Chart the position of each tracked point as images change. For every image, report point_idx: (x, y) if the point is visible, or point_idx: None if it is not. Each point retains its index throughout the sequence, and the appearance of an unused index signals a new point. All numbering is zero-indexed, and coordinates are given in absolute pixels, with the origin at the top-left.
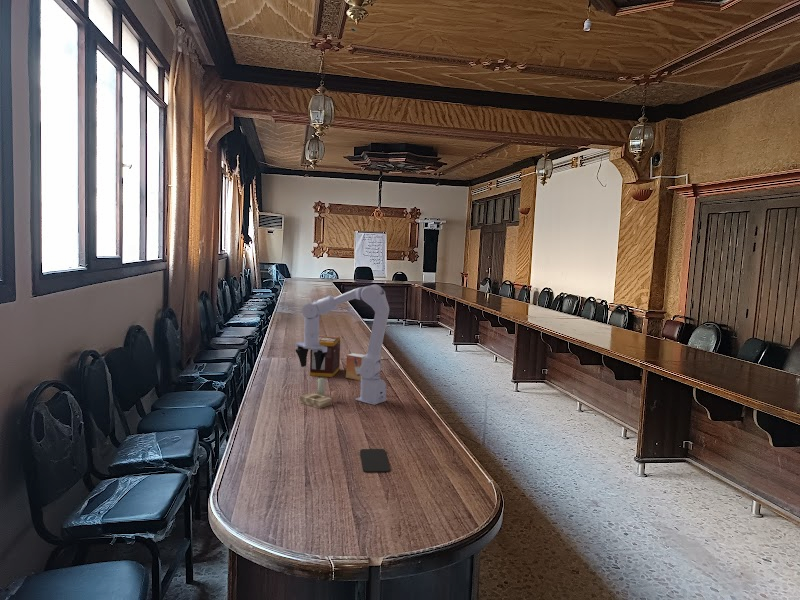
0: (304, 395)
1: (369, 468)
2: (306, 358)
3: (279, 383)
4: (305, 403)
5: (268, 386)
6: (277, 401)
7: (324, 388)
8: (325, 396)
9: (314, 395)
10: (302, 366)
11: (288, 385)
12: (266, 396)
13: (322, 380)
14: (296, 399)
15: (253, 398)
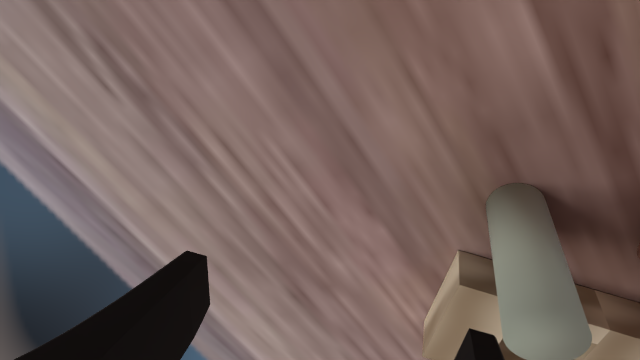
0: (442, 343)
1: None
2: (130, 332)
3: (4, 4)
4: None
5: (37, 114)
6: (302, 327)
7: (564, 256)
8: (615, 332)
9: None
10: (206, 307)
11: (89, 17)
12: None
13: (570, 350)
14: (368, 278)
15: None
